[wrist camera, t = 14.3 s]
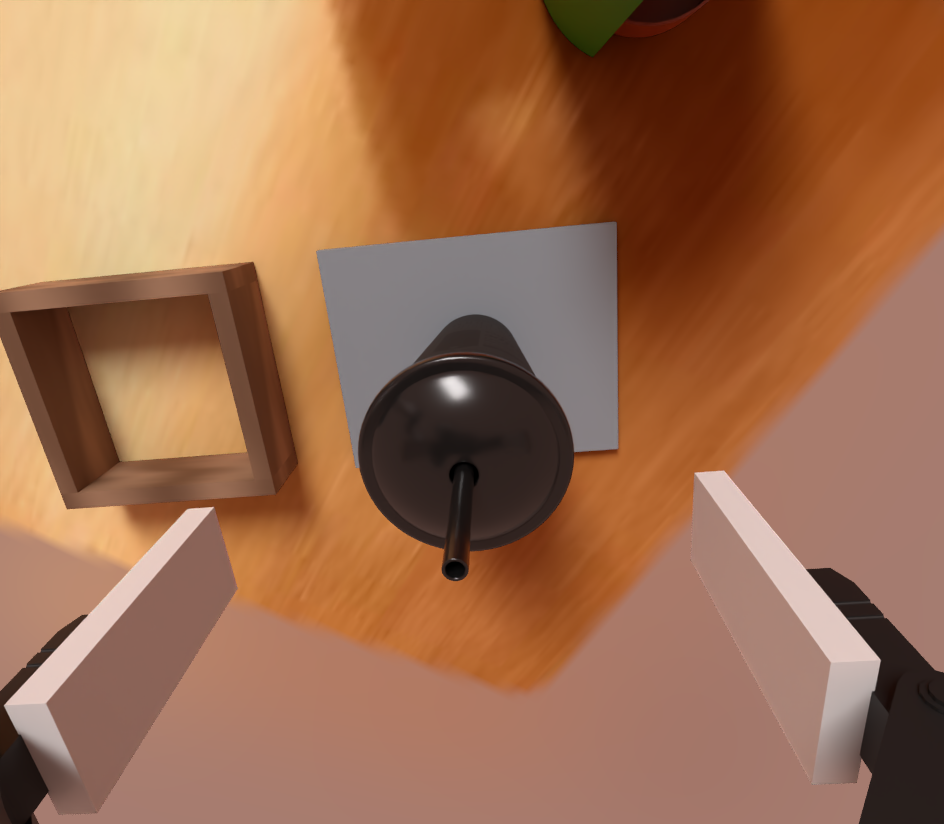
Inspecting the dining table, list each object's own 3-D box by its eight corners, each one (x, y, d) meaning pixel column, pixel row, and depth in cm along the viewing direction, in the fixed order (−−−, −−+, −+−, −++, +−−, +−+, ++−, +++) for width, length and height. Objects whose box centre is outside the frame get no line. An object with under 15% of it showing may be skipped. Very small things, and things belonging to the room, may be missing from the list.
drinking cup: (382, 368, 34) (247, 590, 15) (461, 259, 31) (418, 363, 13) (487, 442, 35) (482, 729, 17) (570, 344, 33) (674, 548, 14)
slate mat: (357, 463, 37) (355, 467, 36) (319, 249, 32) (316, 250, 32) (616, 444, 36) (618, 448, 35) (614, 221, 31) (616, 222, 31)
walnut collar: (109, 477, 38) (67, 509, 34) (40, 282, 33) (-17, 294, 30) (297, 463, 37) (275, 494, 33) (253, 261, 32) (222, 271, 29)
